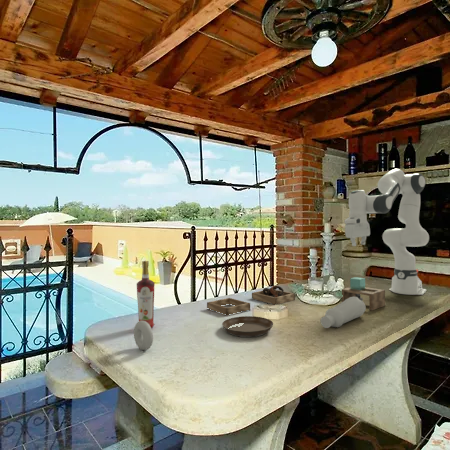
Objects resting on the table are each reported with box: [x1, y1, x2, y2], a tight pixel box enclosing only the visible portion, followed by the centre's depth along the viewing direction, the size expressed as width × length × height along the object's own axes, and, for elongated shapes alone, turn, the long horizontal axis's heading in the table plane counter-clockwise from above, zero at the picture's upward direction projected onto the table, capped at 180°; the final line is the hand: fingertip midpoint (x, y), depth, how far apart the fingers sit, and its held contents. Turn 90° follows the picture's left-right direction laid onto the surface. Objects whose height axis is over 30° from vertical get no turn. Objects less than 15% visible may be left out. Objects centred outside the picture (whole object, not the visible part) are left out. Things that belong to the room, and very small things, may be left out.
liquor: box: [136, 260, 155, 329], centre depth 135 cm, size 7×7×28 cm
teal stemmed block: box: [349, 276, 366, 302], centre depth 170 cm, size 5×5×12 cm
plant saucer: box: [221, 315, 274, 338], centre depth 130 cm, size 21×21×3 cm
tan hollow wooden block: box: [341, 286, 386, 311], centre depth 167 cm, size 14×16×8 cm
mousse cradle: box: [206, 297, 251, 316], centre depth 162 cm, size 15×16×4 cm
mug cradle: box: [251, 289, 296, 305], centre depth 183 cm, size 16×18×4 cm
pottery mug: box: [262, 285, 285, 297], centre depth 185 cm, size 12×10×8 cm
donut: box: [133, 320, 154, 351], centre depth 111 cm, size 10×4×10 cm, turn 43°
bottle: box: [320, 296, 367, 329], centre depth 138 cm, size 9×9×30 cm
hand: (358, 245), depth 175 cm, fingers open, 8 cm apart
